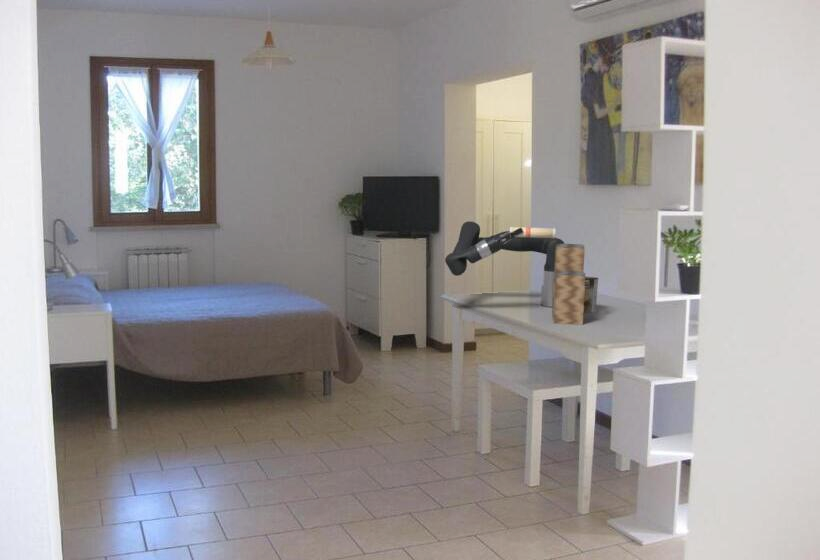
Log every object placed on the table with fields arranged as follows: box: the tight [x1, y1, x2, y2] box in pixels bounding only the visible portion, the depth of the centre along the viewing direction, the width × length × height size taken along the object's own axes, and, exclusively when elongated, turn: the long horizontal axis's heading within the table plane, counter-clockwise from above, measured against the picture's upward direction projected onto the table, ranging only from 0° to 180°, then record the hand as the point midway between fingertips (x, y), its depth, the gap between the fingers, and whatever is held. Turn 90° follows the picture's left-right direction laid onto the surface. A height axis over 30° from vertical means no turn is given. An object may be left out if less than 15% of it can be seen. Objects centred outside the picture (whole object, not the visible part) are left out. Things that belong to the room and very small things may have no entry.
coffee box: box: [583, 275, 599, 313], centre depth 419 cm, size 9×6×16 cm
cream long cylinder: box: [509, 226, 557, 238], centre depth 393 cm, size 20×4×4 cm, turn 84°
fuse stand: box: [551, 243, 586, 326], centre depth 389 cm, size 12×20×33 cm, turn 174°
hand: (521, 229), depth 393 cm, fingers closed on cream long cylinder, 4 cm apart
